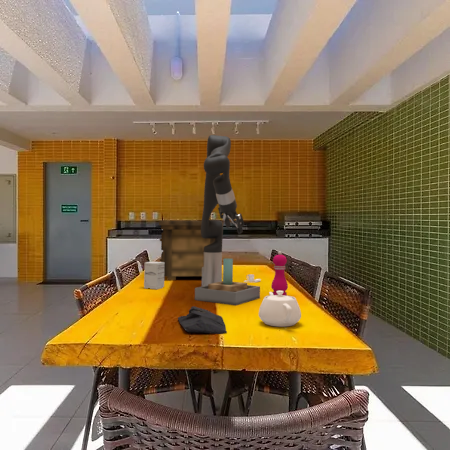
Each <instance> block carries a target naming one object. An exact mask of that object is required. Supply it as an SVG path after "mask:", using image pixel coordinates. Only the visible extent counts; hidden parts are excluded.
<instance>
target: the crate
mask: <svg viewBox="0 0 450 450" xmlns="http://www.w3.org/2000/svg"><path fill="white" fill-rule="evenodd" d="M201 223H202V220H158V226H160V230H161V231H162V232H161V238H159V242H160V244H161V247H160V249H161V255H160V256H161V257H160V258H159V262H165V264H164V278H165V277H166V280H167V281H176V280H177V277H202V267H204V247H205V246H207V245H210V244H212V243H213V242H214V241H215V239H206V238H202V236H201ZM222 224H223V225H224V220H223V221H222Z"/></svg>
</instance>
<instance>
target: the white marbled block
mask: <svg viewBox="0 0 450 450" xmlns="http://www.w3.org/2000/svg"><path fill="white" fill-rule="evenodd" d="M164 264H165V262H161V261H146V262H144V268H143V269H144V272H143V275H144V277H143V280H144V281H143V286H144V287H143V288H144V289H148V288H150V289H151V290H160V289H163V287H165V277H164Z"/></svg>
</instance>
